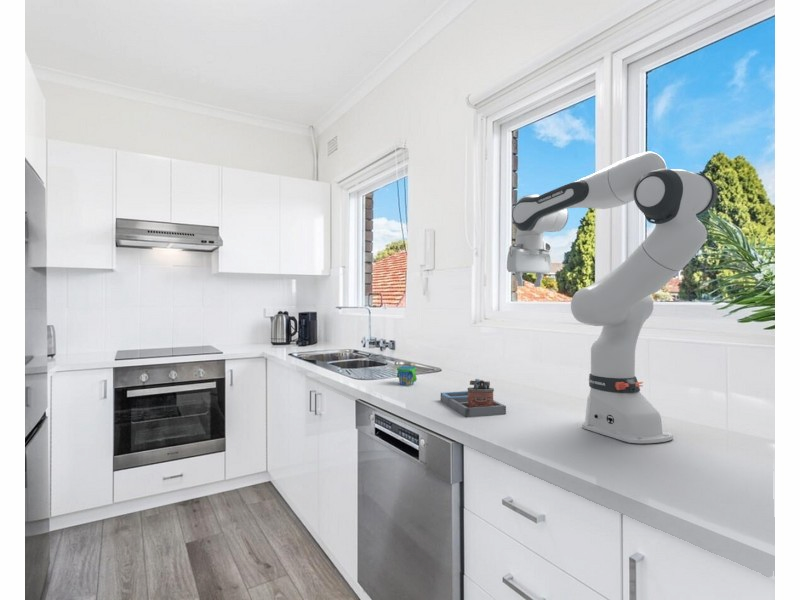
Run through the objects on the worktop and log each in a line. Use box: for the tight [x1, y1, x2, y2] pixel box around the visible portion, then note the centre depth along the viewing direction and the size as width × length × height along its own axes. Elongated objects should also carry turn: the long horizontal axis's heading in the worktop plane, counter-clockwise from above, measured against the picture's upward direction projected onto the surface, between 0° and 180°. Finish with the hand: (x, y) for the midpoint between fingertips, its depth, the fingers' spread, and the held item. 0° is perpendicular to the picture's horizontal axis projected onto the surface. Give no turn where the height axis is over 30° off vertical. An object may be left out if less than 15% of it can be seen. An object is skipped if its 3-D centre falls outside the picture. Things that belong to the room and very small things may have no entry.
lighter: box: [467, 379, 495, 408], centre depth 140 cm, size 8×3×10 cm, turn 84°
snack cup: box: [396, 365, 418, 387], centre depth 184 cm, size 11×8×7 cm
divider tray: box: [440, 378, 507, 418], centre depth 147 cm, size 22×14×7 cm, turn 15°
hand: (529, 286), depth 151 cm, fingers open, 8 cm apart
